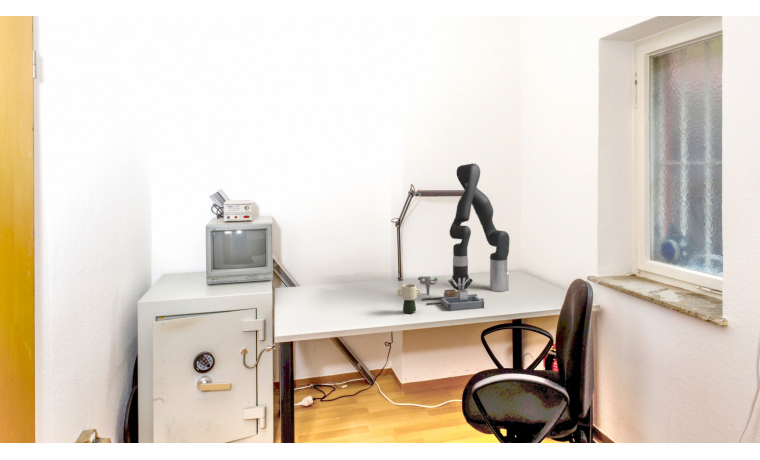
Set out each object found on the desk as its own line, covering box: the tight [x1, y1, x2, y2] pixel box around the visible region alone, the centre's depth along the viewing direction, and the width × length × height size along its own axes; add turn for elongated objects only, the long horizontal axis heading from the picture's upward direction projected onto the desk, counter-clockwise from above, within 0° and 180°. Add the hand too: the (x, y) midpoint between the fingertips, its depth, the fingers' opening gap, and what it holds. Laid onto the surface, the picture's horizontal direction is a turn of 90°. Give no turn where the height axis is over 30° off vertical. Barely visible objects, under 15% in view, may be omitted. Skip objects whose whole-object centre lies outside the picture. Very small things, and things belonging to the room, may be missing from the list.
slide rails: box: [421, 293, 485, 306], centre depth 217 cm, size 30×10×1 cm, turn 100°
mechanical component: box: [417, 275, 438, 296], centre depth 228 cm, size 3×10×10 cm, turn 78°
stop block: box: [456, 289, 469, 303], centre depth 205 cm, size 4×4×7 cm
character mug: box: [397, 283, 422, 314], centre depth 199 cm, size 11×7×13 cm, turn 92°
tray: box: [440, 295, 485, 312], centre depth 206 cm, size 18×11×4 cm, turn 100°
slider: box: [443, 288, 457, 298], centre depth 216 cm, size 6×5×5 cm
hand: (460, 297), depth 217 cm, fingers closed
